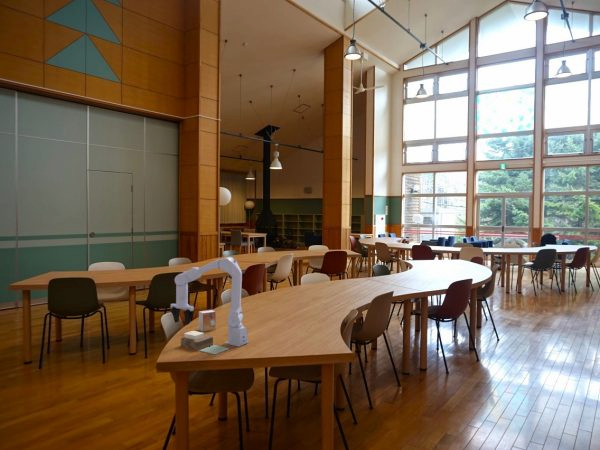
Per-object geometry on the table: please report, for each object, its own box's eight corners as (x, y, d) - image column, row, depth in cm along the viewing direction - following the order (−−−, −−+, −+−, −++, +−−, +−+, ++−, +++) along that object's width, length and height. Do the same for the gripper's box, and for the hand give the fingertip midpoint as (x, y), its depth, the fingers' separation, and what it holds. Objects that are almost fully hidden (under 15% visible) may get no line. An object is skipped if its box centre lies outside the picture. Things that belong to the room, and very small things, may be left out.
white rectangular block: (204, 337, 213) (204, 333, 213) (195, 339, 208) (195, 335, 208) (193, 334, 218) (193, 330, 218) (184, 337, 213) (184, 333, 213)
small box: (202, 332, 237) (202, 313, 237) (198, 329, 241) (198, 311, 241) (215, 329, 242) (215, 311, 241) (211, 327, 246) (211, 309, 246)
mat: (229, 349, 207) (229, 348, 207) (214, 354, 199) (214, 353, 199) (214, 345, 212) (214, 344, 212) (199, 350, 204) (199, 350, 204)
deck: (212, 345, 213) (212, 337, 213) (198, 350, 205) (198, 342, 204) (195, 341, 219) (195, 333, 219) (180, 346, 211) (180, 338, 211)
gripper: (198, 297, 218) (198, 323, 219) (177, 294, 226) (177, 319, 226) (188, 299, 212) (188, 326, 213) (167, 296, 220) (167, 322, 220)
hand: (182, 323), depth 219 cm, fingers open, 7 cm apart
